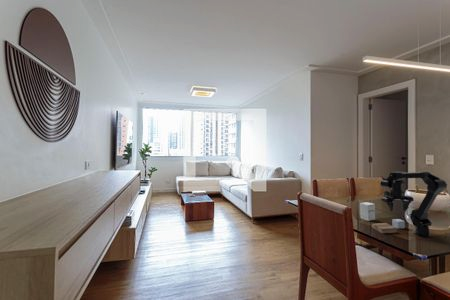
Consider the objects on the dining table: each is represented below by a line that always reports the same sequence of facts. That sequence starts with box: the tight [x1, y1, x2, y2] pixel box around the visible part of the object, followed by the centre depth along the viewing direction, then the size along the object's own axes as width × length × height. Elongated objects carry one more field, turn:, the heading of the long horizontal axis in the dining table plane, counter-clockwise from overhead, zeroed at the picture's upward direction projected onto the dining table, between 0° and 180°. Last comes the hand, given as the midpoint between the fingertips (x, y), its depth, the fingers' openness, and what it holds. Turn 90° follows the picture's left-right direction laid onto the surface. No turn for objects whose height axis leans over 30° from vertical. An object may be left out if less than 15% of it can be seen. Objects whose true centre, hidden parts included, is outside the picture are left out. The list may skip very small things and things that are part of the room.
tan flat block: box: [371, 222, 398, 234], centre depth 156 cm, size 10×10×3 cm
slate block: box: [391, 218, 406, 229], centre depth 160 cm, size 5×5×5 cm
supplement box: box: [359, 201, 376, 222], centre depth 179 cm, size 7×7×13 cm
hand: (398, 210), depth 159 cm, fingers open, 9 cm apart
